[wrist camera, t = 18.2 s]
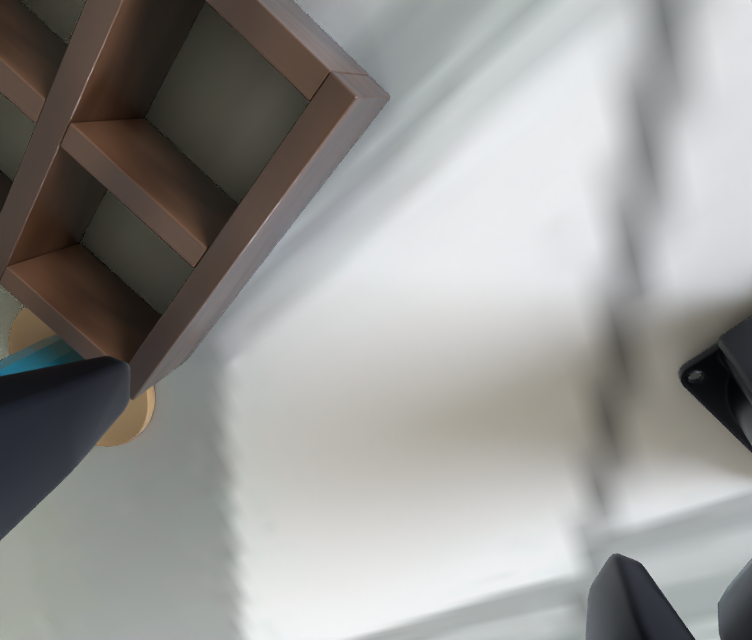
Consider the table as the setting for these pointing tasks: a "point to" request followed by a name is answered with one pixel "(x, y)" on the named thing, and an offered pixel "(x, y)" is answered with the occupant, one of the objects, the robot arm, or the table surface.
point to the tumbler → (40, 356)
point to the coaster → (137, 411)
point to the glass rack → (154, 168)
